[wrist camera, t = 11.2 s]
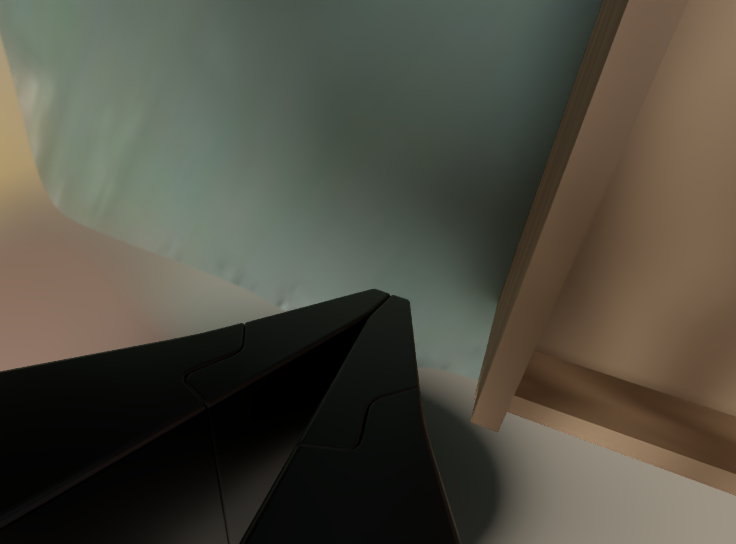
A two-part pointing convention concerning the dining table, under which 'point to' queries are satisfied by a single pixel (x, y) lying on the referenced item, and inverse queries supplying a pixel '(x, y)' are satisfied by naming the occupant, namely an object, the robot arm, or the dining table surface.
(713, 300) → the wooden box tray
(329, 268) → the dining table surface
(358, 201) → the dining table surface
